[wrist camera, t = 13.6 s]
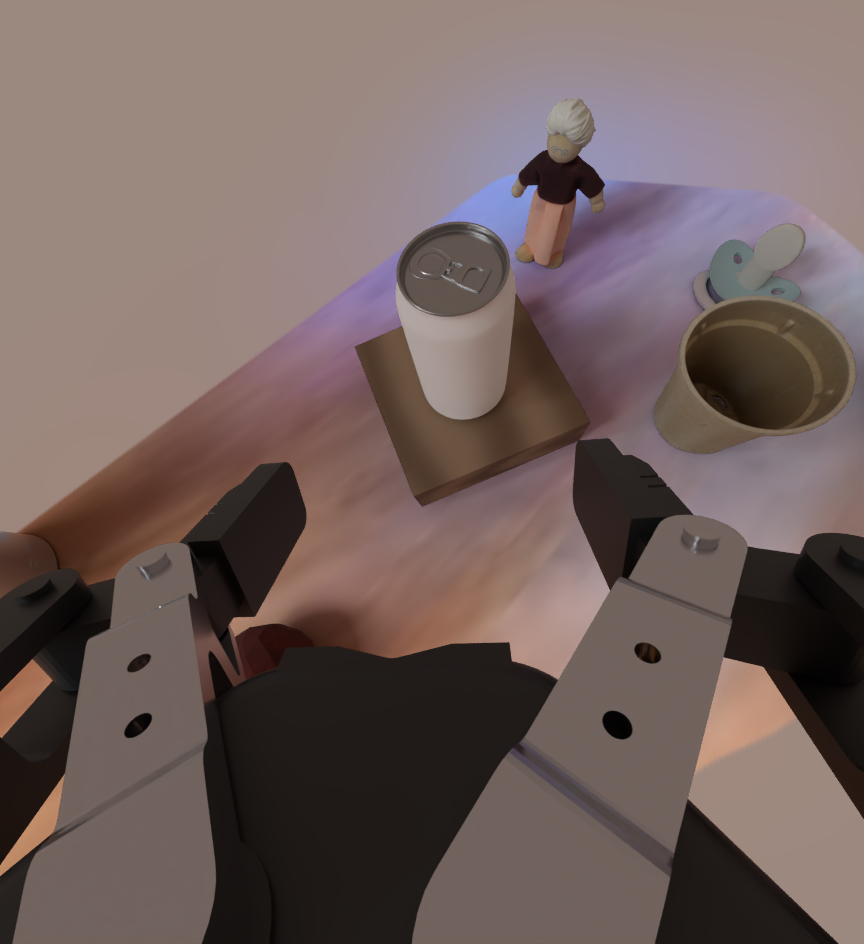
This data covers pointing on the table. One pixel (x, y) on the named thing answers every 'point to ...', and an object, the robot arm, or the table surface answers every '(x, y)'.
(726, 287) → the pacifier
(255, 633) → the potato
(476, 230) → the can
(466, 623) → the table surface
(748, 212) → the table surface
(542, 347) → the walnut block
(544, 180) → the grandmother figurine
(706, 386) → the flower pot
